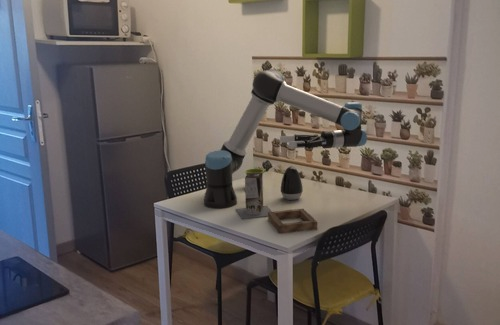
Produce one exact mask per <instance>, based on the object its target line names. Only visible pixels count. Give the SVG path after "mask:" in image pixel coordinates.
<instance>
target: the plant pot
mask: <svg viewBox="0 0 500 325" xmlns="http://www.w3.org/2000/svg"><path fill="white" fill-rule="evenodd" d="M264 171H265V170H264V169H261V168H248V169H246V170H245V171H244V173H246V176H247V174H248V173H262V176H264Z"/></svg>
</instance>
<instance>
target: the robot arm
mask: <svg viewBox="0 0 500 325" xmlns="http://www.w3.org/2000/svg"><path fill="white" fill-rule="evenodd" d="M250 93H251V99H250V101H249V102H248V104H247V106H246V108H245V110H244V112H243V113H242V115H241V117H240V118H239V120H238V122H237V125H236V127H235V129H234V130H233V132H232V134H231V135H230V138H229V140H226V141H224V142H223V144H222V146H221V148H220V149H218V150H213V151H211V152H208V153H207V154H206V156H205V160H204V161H205V162H204V164H205V177H206V179H205V180H206V190H205V194H204V197H203V205H204V206H205V207H207V208H213V209H223V208H224V209H225V208H230V207H234V206H236V205H237V203H238V197H237V194H236V193H235V189H234V186H233V174H234V173H235V172H237V171H239V169H241V167H242V165H243V162H244V158H245V157H246V155H247V152H246V148H247V147H248V145H249V142H250V141H251V139H252V137H253V135H254V133H255V132H256V130H257V129H258V126H259V124H260V123H261V121H262V120H263V118H264V116H265V114H266V112H267V110H268V108H269V107H270V106H273V105H275V103H277V104H278V103H279V102H280V103H283V104H286V105H288V106H291V107H294V108H295V109H298V110H300V111H304V112H305V113H308V114H311V115H314V116H316V117H319V118H322V119H324V120H326V121H329V122H331V123H334V124H335V125H336V124H337V125H339V126H341V127H342V128H343V129H342V130H340V129H339V130H324V131H322V132H321V133H320V135H317V134H294V135H281V136H279V143H283V144H284V143H288V149H303V148H305V149H308V150H309V149H313V148H314V149H315V148H319V147H322V149H333V148H334V149H335V148H336V149H337V150H338V149H339V148H356V147H364V146H365V145H366V143H367V141H368V135H367V134H368V133H367V131H366V130H365V129H363V128H362V117H363V113H362V112H363V105H362V103H361V102H358V101H349V102H348V101H347V102H345V103H344V106H342V105H340V104H337V103H335V102H332V101H330V100H328V99H324V98H321V97H319V96H316V95H314V94H312V93H309V92H306V91H305V90H302V89H299V88H296V87H294V86H291V85H288V84H287V82H286V81H285V77H284V75H283V73H281V72H280V71H278V70H276V69H266V70H262V71H260V72H258V73H257V74H256V75H255V76H254V78H253V80H252V90H251V92H250Z"/></svg>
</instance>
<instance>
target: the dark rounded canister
mask: <svg viewBox="0 0 500 325" xmlns="http://www.w3.org/2000/svg"><path fill="white" fill-rule="evenodd" d="M303 187H304V186H303V182H302V178H301V175H300V173H299V171H298V169H297V168H296V167H295V166H293V165H290V166H288V167H287V168H286V169H285V170H284V172H283V174H282V178H281V185H280V193H281V195H282V197H283V199H285V200H287V201H295V200H298V199H299V198H301V196H302V194H303Z"/></svg>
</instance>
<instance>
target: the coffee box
mask: <svg viewBox="0 0 500 325" xmlns="http://www.w3.org/2000/svg"><path fill="white" fill-rule="evenodd" d="M263 184H264V182H263V175H262V173H248V174H247V175H246V176H245V177H244V185H245V186H244V187H245V188H244V189H245V190H244V195H245V208H246V214H247V215H260V214H261V212H262V210H263V206H264V191H263V190H264V188H263V187H264V186H263Z"/></svg>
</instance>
